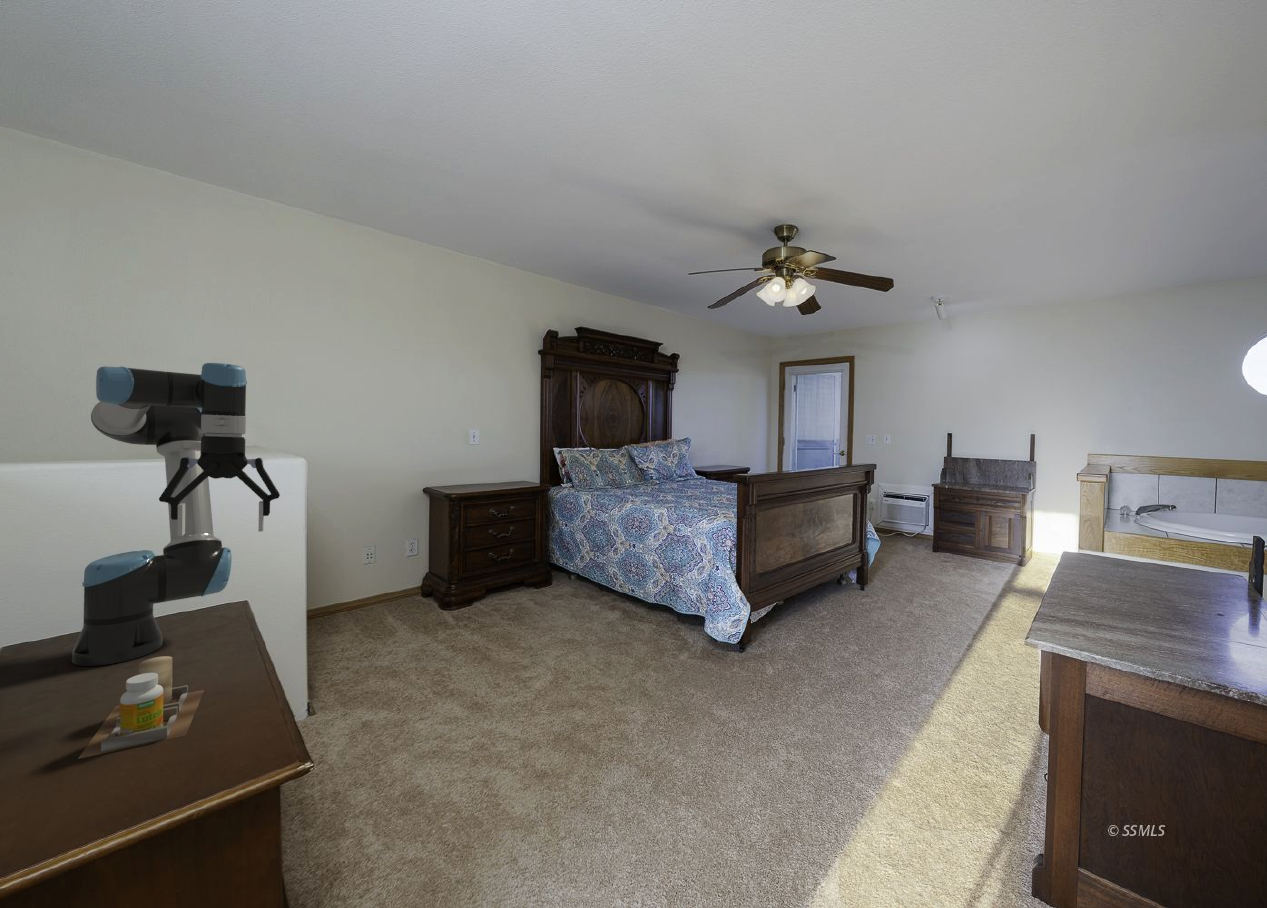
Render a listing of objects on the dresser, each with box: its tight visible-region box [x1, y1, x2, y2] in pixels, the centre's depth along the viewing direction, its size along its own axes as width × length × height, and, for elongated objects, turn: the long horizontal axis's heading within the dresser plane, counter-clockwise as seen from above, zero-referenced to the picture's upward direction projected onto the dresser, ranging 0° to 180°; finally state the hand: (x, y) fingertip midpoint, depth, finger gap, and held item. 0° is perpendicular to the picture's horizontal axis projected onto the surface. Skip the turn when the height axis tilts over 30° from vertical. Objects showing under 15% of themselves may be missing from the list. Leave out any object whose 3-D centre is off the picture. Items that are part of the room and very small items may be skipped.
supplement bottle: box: [119, 673, 163, 735], centre depth 87 cm, size 5×5×10 cm
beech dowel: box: [138, 655, 173, 705], centre depth 95 cm, size 5×5×9 cm
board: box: [77, 684, 205, 760], centre depth 91 cm, size 18×13×3 cm
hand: (222, 532), depth 110 cm, fingers open, 13 cm apart
